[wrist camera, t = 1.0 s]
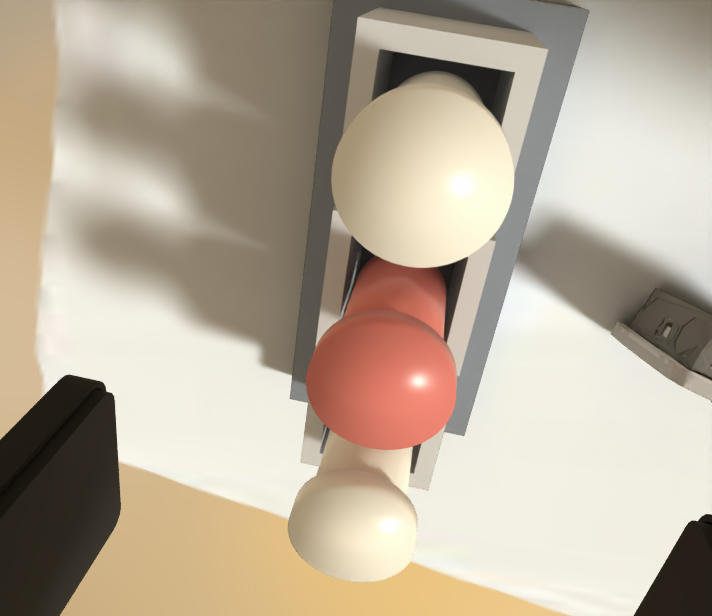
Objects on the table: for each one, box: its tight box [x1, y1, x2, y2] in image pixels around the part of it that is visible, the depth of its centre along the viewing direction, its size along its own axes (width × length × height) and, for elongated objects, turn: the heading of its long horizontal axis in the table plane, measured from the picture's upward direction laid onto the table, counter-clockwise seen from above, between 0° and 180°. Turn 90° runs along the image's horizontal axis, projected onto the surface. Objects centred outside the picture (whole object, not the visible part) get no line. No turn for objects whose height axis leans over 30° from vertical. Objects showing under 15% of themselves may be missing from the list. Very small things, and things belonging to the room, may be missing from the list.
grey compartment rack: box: [290, 0, 589, 490], centre depth 34 cm, size 12×26×10 cm, turn 172°
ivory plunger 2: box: [331, 71, 514, 268], centre depth 23 cm, size 6×6×8 cm
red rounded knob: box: [306, 256, 457, 450], centre depth 27 cm, size 6×6×8 cm
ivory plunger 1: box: [288, 430, 417, 582], centre depth 31 cm, size 6×6×8 cm
